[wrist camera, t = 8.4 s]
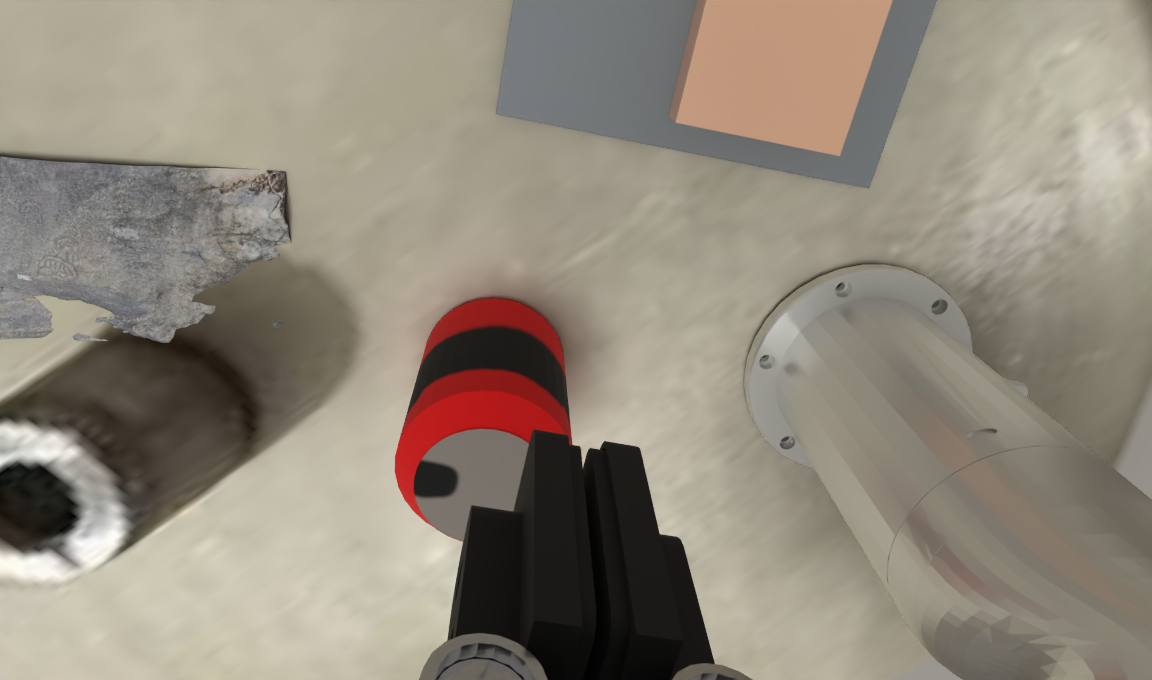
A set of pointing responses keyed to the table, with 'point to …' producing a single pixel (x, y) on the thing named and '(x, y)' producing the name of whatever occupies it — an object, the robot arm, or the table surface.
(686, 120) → the tile
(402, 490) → the soda can
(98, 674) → the table surface
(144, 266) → the stone slab
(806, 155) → the mat
